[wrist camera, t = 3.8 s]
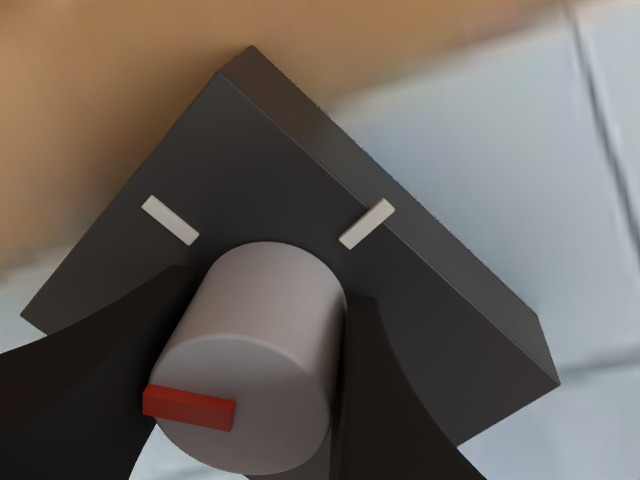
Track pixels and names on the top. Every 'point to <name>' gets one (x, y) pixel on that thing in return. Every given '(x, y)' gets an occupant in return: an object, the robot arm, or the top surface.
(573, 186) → the top surface
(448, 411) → the control panel
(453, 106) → the top surface
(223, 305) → the dial
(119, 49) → the top surface
